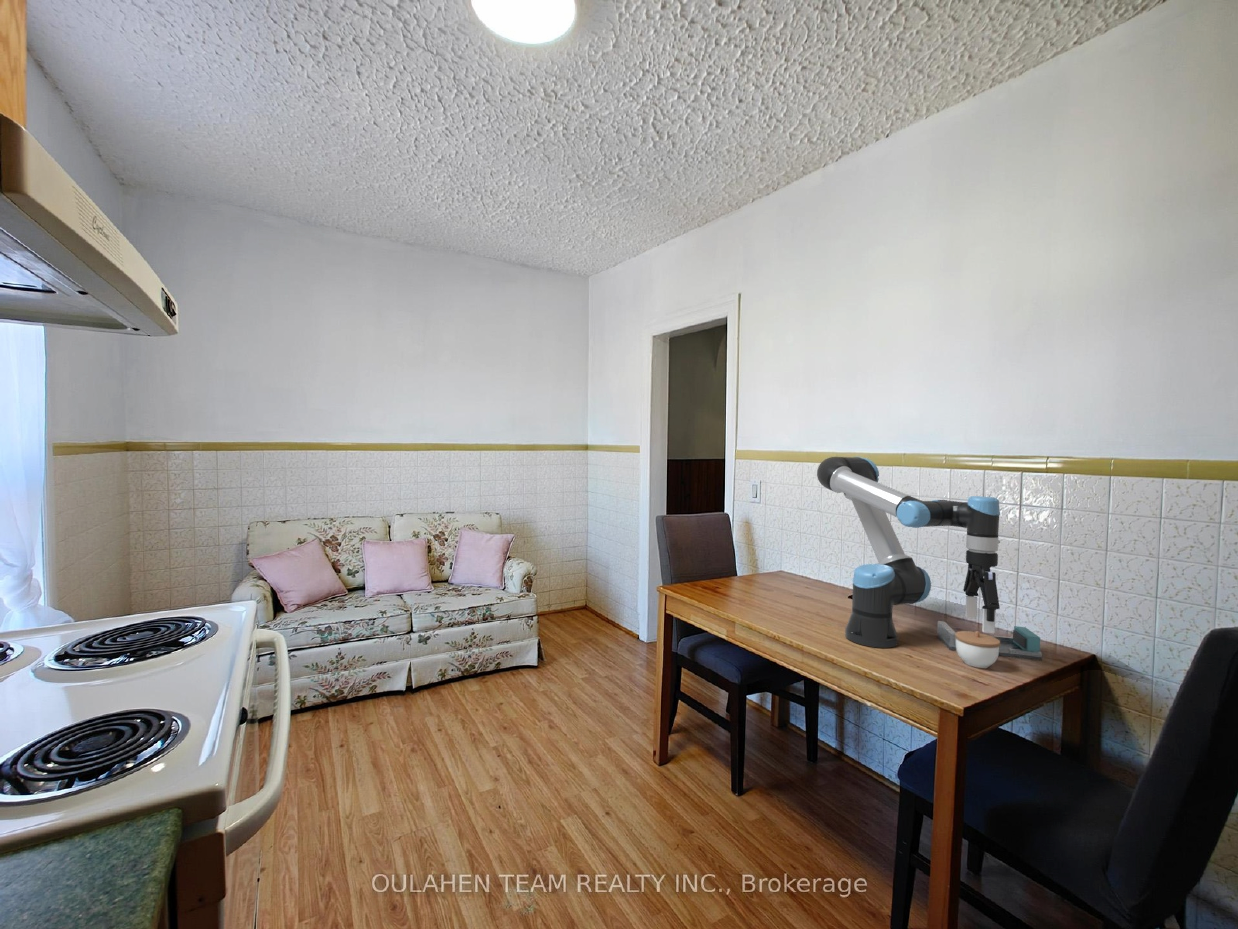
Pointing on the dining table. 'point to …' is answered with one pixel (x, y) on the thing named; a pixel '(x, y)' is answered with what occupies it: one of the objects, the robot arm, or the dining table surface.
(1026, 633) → the block
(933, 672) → the dining table surface
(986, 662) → the lidded jar
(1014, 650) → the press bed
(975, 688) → the dining table surface
